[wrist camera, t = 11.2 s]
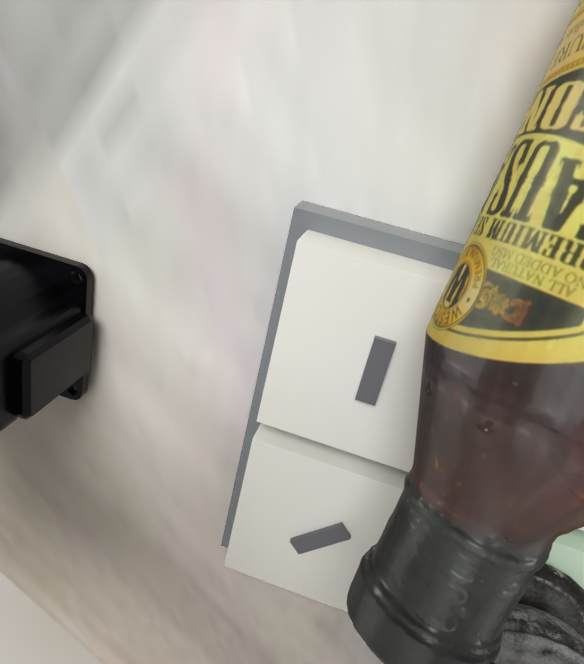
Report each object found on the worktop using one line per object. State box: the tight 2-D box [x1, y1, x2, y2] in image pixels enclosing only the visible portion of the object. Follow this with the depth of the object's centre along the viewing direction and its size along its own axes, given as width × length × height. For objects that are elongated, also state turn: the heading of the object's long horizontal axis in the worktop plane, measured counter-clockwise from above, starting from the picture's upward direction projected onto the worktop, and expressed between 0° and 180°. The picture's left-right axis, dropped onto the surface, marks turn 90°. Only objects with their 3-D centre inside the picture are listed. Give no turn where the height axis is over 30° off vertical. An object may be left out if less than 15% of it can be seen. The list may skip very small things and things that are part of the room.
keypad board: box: [221, 201, 584, 612], centre depth 20 cm, size 16×16×3 cm
